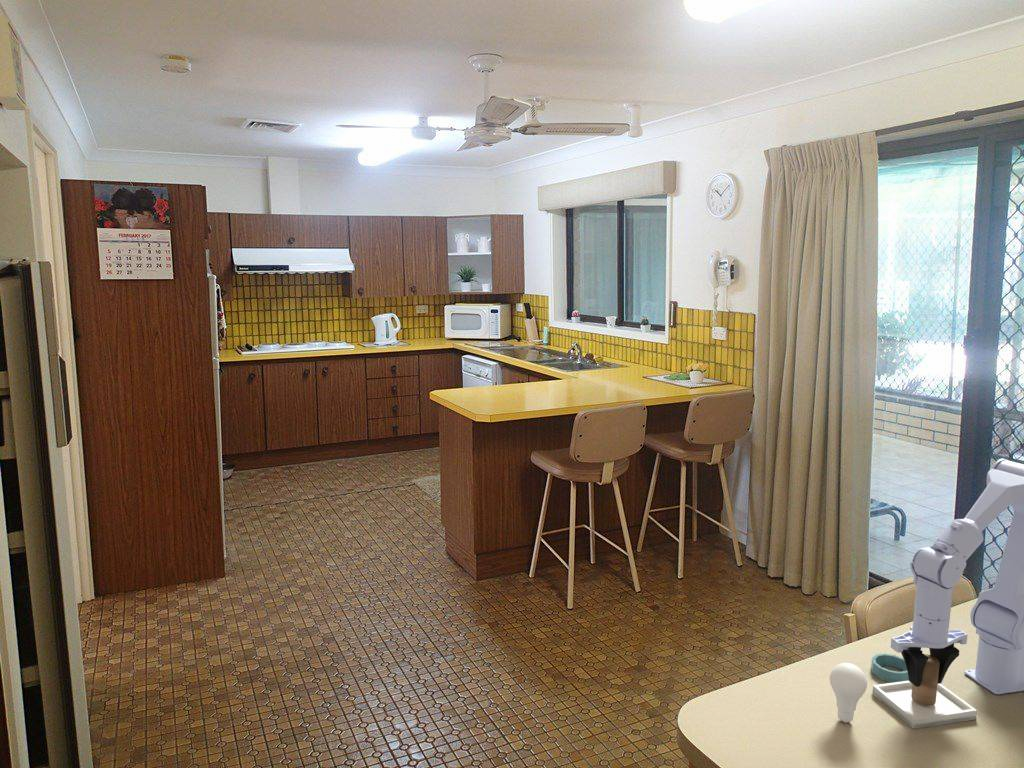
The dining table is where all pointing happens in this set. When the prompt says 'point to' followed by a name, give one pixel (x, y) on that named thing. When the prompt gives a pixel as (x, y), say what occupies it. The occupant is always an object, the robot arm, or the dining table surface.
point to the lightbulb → (847, 688)
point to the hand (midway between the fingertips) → (925, 682)
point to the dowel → (927, 683)
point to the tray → (921, 715)
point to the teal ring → (888, 674)
